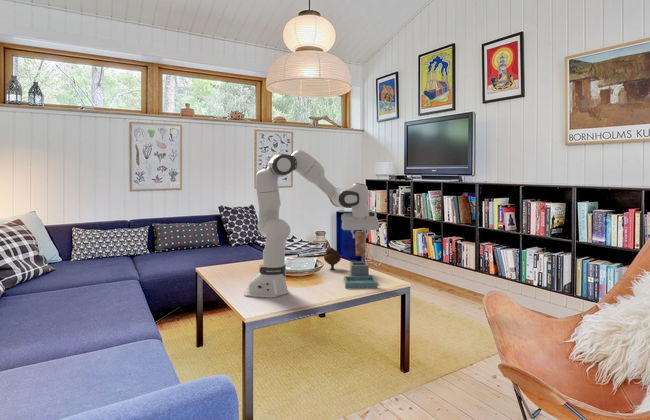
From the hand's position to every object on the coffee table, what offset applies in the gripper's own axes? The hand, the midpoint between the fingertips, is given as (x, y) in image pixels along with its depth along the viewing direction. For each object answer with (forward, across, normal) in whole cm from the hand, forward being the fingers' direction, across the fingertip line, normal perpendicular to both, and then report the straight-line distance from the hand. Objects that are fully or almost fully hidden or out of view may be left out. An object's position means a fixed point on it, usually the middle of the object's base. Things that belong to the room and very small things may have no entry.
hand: (360, 238), depth 215 cm
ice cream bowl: (+26, -14, +32) cm, 43 cm away
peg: (+10, 0, 0) cm, 10 cm away
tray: (+26, 0, 0) cm, 26 cm away
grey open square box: (+26, +1, +14) cm, 30 cm away
